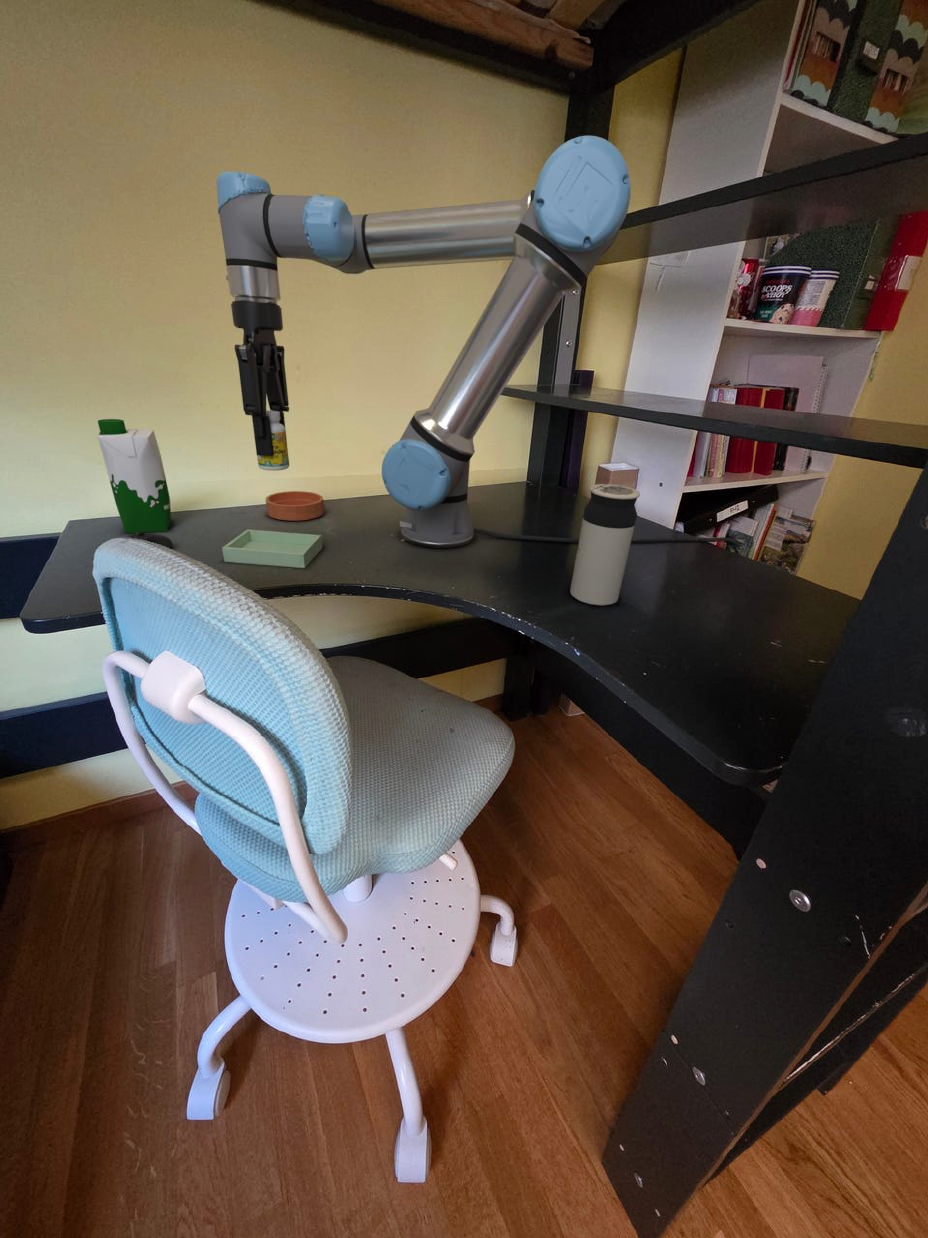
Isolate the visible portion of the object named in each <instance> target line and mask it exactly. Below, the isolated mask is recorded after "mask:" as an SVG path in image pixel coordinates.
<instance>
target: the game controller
mask: <svg viewBox="0 0 928 1238" xmlns="http://www.w3.org/2000/svg"><path fill="white" fill-rule="evenodd" d="M126 537H131V538H137V539H143V540H147V541H150V542H154V543H157V544H161V545H163V546H166V547H169V548H170V549H171V548H172V547H173V542H172V540H171V538H169V537H168V536H165V535H161V534H155V533H145V532H138V533H130V534H129V535H128V536H126Z"/></svg>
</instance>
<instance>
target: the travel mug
mask: <svg viewBox="0 0 928 1238" xmlns="http://www.w3.org/2000/svg"><path fill="white" fill-rule="evenodd" d="M589 491H590V500H589V501H588V502H587V504H586V505H585V507H584V510H583V516H582V522H581V527H580V533H579V538H578V539H579V543H577V550H576V555H575V561H574V566H573V571H572V572H573V573H572V577H571V583H570V589H569V593H570V595H571V596H572V597H573V598H575V599H576V600H577V601H579V602H581V603H584V604H588V605H592V606H609V605H614V604H615V603H617V602H618V600H619V597H620V591H621V588H622V584H623V579H624V575H625V570H626V566H627V562H628V557H629V552H630V548H631V544H632V543H631V540H632V538H633V535H634V531H635V526H636V521H637V517H638V513H637V509H636V506H635V505H636V502H637V500H638V498H639V497H640V496H641V493H640V491H639V490H637V489H635V488H632V487H629V486H625V485H619V484H613V483H612V484H611V483H597V484H593V485H591V486H590V487H589Z"/></svg>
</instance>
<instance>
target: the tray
mask: <svg viewBox="0 0 928 1238" xmlns="http://www.w3.org/2000/svg"><path fill="white" fill-rule="evenodd" d="M221 549H222V555H223V560H224V561H223V562H225V563H237V564H248V565H262V566H273V567H285V568H286V567H287V568H298V569H300V568H301V569H306V568H307V566H308V565H310V563H311V562H312V560H314V558H315V557H316V556H317V555H318V554H319V552H321V550H322V549H323V538H322V535H321V534H312V533H311V534H310V533H299V532H284V531H272V530H261V529H246V530H245V531H243V532H242V533H240V534H239V535H238V536H236V537H235V538H234V539H231V541H229V542H228V543H227V544H225V545H224V546H222V548H221Z"/></svg>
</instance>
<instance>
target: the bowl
mask: <svg viewBox="0 0 928 1238" xmlns="http://www.w3.org/2000/svg"><path fill="white" fill-rule="evenodd" d="M324 506H325V505H324V496H323V495H321V494H319V493H316V492H312V491H311V492H310V491H302V490H301V491H300V490H290V491H281V492H275V493H272V494H269V495H267V496H266V497H265V507H266V514H267V516H269V517H270V518H272V519H276V520H282V521H292V522H297V521H307V520H312V519H316V518H319V517H321V516H323V515H324V514H325V507H324Z"/></svg>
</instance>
